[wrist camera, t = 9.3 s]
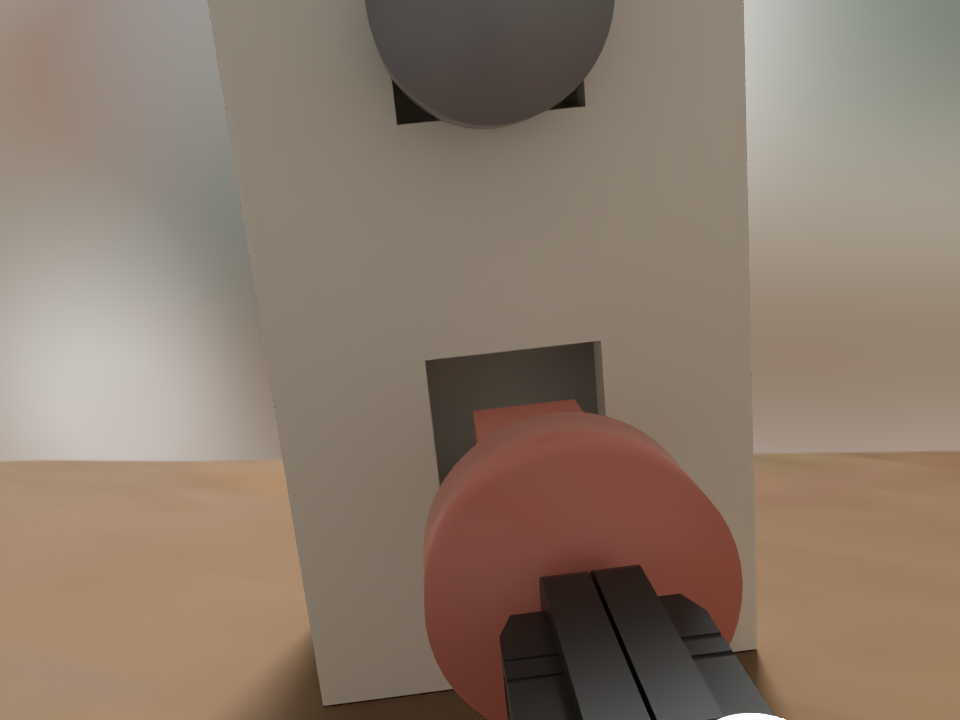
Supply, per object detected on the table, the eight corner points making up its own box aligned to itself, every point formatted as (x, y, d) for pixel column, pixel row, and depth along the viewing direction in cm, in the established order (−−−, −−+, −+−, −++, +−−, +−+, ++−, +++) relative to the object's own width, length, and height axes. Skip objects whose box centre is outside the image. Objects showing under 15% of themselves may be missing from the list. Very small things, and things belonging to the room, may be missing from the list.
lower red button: (746, 721, 13) (738, 432, 12) (442, 762, 13) (405, 471, 12) (637, 537, 20) (626, 338, 19) (434, 562, 20) (410, 363, 19)
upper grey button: (622, 112, 17) (607, -157, 16) (381, 136, 17) (348, -136, 16) (564, 127, 24) (550, -61, 23) (391, 145, 24) (369, -45, 22)
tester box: (757, 648, 23) (737, -260, 18) (322, 706, 22) (172, -217, 17) (688, 550, 29) (658, -154, 23) (342, 593, 28) (234, -119, 23)
